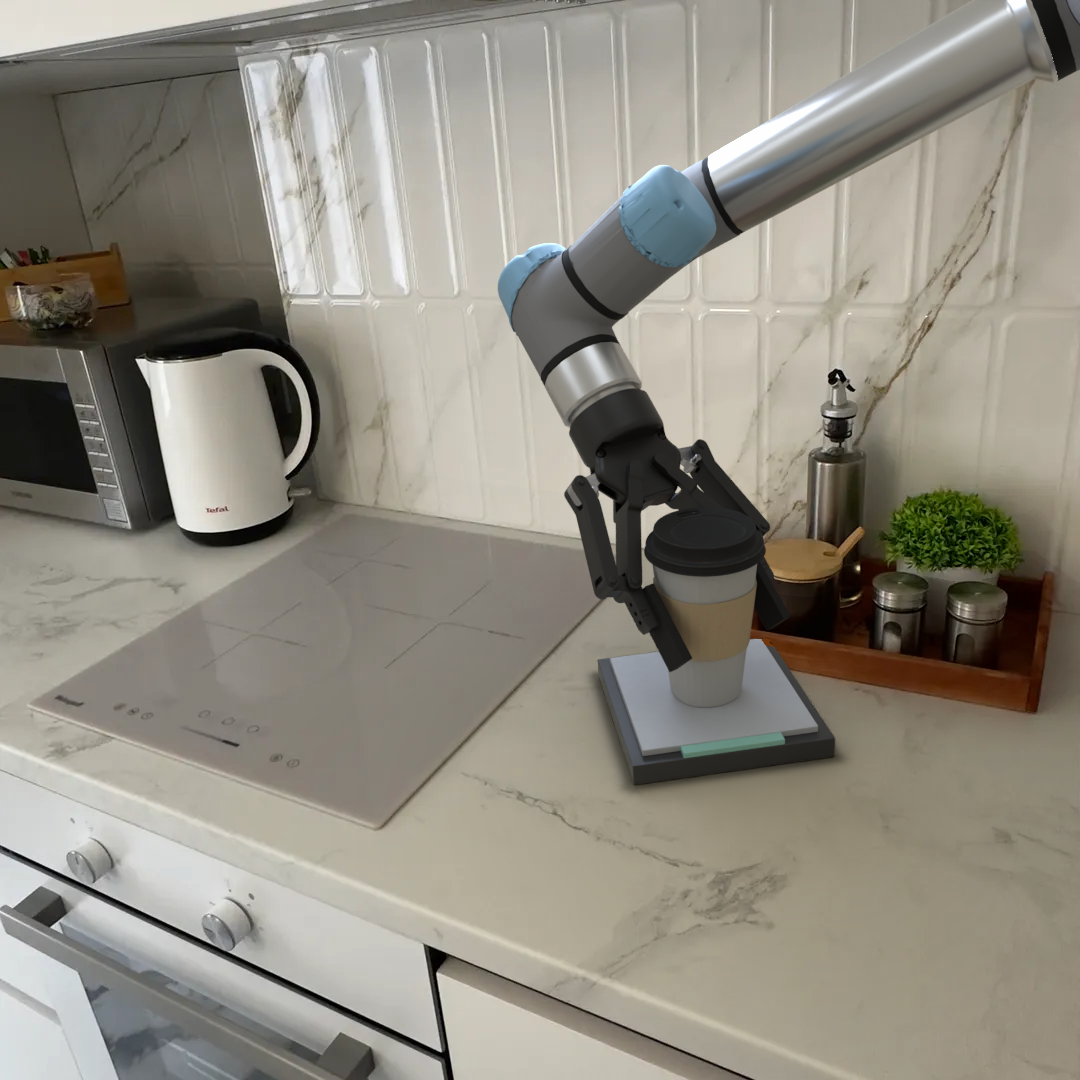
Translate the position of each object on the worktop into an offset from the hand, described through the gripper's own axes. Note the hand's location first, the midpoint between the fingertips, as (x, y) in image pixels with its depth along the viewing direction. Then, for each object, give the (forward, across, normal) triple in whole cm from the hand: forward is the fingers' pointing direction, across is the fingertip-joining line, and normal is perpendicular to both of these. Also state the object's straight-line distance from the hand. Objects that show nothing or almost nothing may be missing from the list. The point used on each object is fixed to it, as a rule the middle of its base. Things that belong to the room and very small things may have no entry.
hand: (731, 643), depth 77 cm
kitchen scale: (+4, 0, -8) cm, 9 cm away
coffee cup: (+2, 0, -6) cm, 7 cm away
